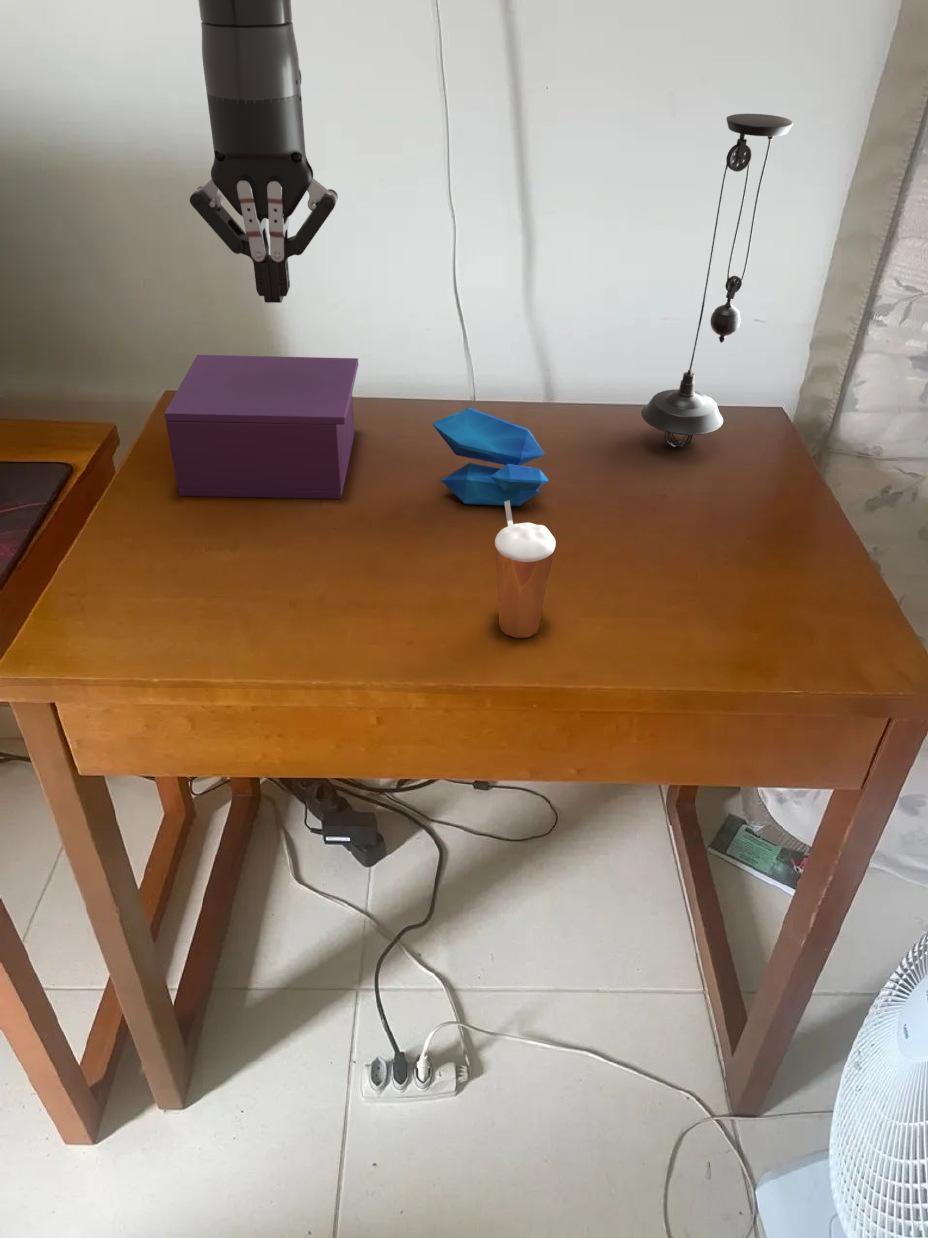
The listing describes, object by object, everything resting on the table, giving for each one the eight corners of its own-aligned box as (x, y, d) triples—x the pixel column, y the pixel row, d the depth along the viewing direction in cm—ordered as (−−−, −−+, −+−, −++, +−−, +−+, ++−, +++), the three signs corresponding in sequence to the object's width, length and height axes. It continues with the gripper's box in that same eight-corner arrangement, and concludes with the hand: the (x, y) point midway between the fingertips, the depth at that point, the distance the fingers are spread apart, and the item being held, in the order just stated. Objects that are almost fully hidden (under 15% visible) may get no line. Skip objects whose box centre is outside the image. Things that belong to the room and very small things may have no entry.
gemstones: (561, 456, 88) (431, 420, 87) (533, 535, 93) (410, 501, 92) (562, 419, 94) (441, 385, 93) (536, 495, 99) (421, 464, 98)
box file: (354, 434, 105) (350, 365, 101) (341, 499, 94) (336, 424, 90) (208, 431, 105) (198, 362, 100) (178, 495, 94) (165, 421, 90)
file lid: (358, 365, 101) (358, 357, 100) (345, 425, 90) (344, 416, 89) (198, 361, 100) (197, 354, 100) (165, 421, 90) (163, 412, 89)
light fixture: (706, 422, 109) (764, 109, 90) (743, 457, 103) (814, 128, 84) (624, 431, 107) (667, 112, 88) (657, 468, 101) (710, 132, 82)
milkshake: (525, 598, 82) (532, 494, 76) (558, 634, 78) (568, 528, 72) (476, 612, 80) (480, 507, 74) (507, 650, 77) (514, 542, 71)
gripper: (159, 93, 76) (193, 313, 87) (330, 96, 76) (343, 316, 87) (182, 77, 82) (210, 284, 93) (340, 80, 82) (351, 287, 93)
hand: (274, 299), depth 90 cm, fingers closed
